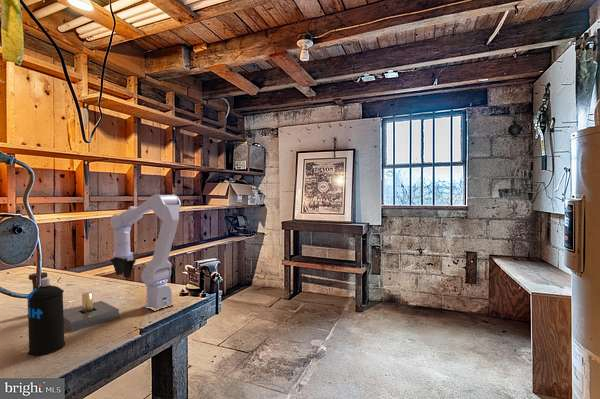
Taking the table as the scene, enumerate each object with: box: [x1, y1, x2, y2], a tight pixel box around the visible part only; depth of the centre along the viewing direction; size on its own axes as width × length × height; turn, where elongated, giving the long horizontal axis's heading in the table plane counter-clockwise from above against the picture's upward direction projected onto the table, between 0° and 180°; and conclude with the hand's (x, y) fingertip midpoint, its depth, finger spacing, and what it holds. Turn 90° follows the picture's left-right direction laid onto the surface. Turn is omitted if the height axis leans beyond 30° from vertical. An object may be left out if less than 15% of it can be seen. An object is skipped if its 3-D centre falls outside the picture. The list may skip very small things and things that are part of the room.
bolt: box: [28, 271, 48, 291], centre depth 115 cm, size 6×5×15 cm
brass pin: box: [81, 291, 94, 314], centre depth 109 cm, size 3×3×9 cm
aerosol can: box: [26, 277, 66, 357], centre depth 87 cm, size 8×8×20 cm
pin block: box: [63, 300, 120, 333], centre depth 109 cm, size 16×14×3 cm
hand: (123, 276), depth 128 cm, fingers open, 7 cm apart
